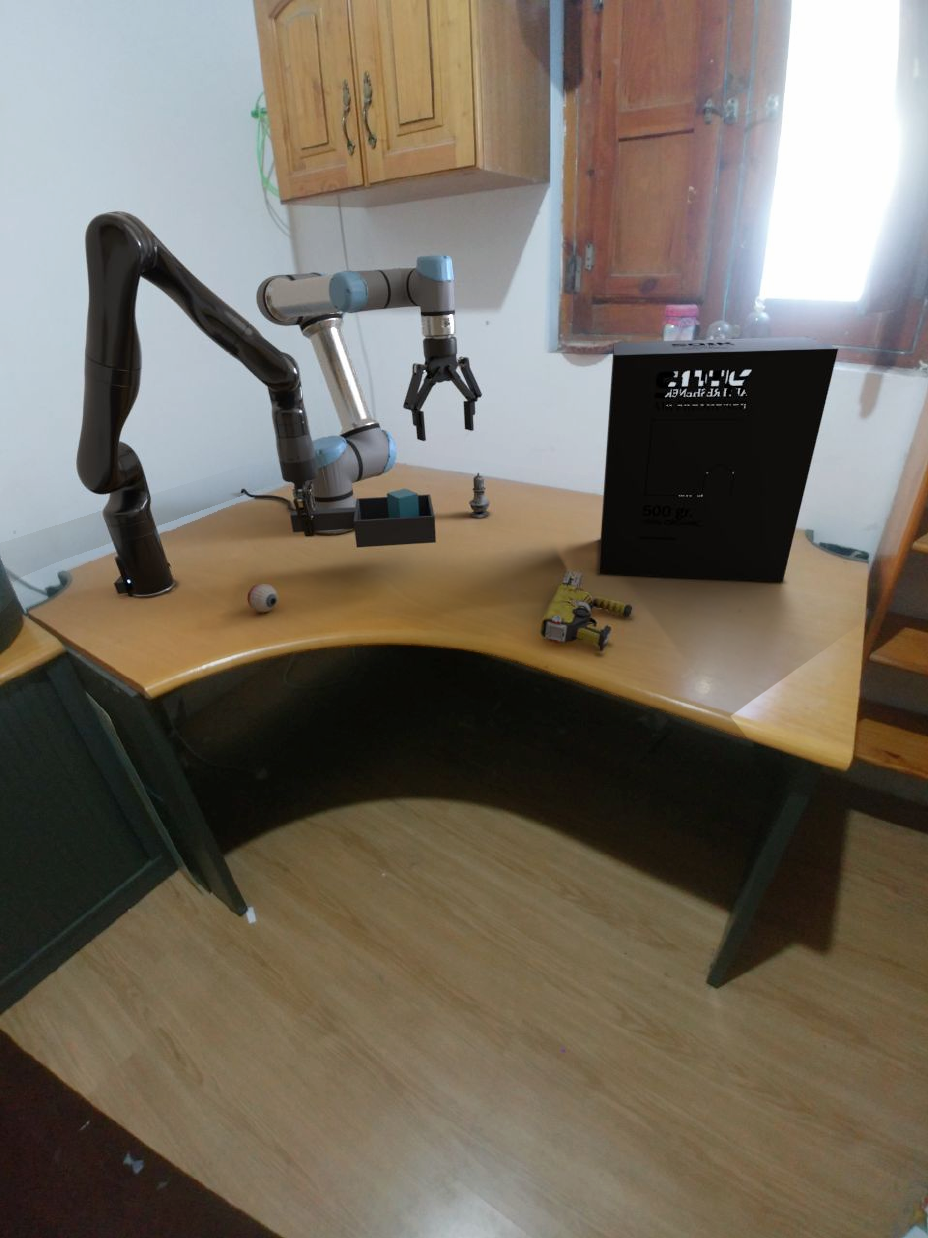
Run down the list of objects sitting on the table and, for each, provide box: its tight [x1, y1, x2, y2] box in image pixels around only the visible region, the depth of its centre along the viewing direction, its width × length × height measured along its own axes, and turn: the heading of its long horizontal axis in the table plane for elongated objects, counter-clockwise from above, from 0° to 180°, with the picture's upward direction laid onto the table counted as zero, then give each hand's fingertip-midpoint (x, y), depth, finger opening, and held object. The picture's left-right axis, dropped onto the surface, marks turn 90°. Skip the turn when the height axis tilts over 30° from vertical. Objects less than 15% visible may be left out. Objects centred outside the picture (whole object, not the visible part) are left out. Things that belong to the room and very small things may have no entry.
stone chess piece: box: [468, 472, 491, 519], centre depth 168 cm, size 6×6×12 cm
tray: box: [289, 494, 437, 548], centre depth 135 cm, size 31×15×6 cm, turn 97°
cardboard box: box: [598, 335, 839, 583], centre depth 128 cm, size 38×20×45 cm, turn 78°
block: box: [386, 488, 419, 518], centre depth 136 cm, size 5×5×8 cm
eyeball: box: [246, 583, 279, 613], centre depth 126 cm, size 6×6×6 cm
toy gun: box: [540, 570, 633, 652], centre depth 116 cm, size 5×24×15 cm
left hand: (310, 532), depth 135 cm, fingers closed on tray, 3 cm apart
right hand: (445, 434), depth 143 cm, fingers open, 13 cm apart
